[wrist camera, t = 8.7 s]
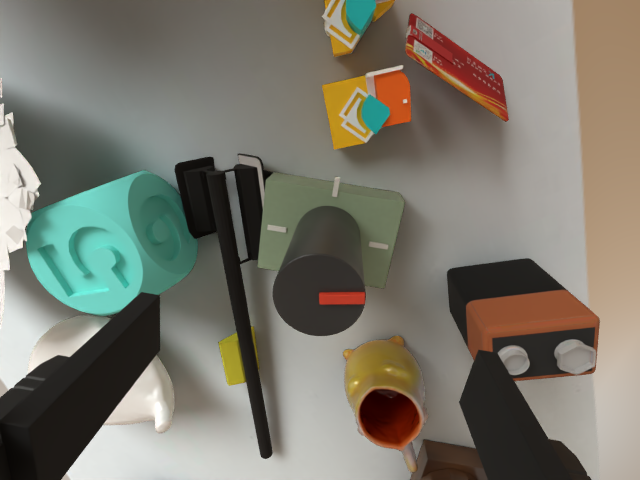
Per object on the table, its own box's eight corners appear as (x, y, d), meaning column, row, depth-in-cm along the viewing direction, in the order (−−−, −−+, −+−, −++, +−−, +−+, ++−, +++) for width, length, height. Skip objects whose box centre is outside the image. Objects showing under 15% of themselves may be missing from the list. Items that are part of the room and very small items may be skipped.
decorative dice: (82, 195, 31) (-2, 225, 23) (166, 162, 29) (103, 183, 22) (131, 277, 33) (68, 329, 26) (210, 251, 32) (168, 297, 24)
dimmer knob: (297, 266, 28) (275, 340, 20) (292, 206, 27) (266, 257, 18) (360, 265, 28) (366, 339, 19) (359, 204, 26) (365, 255, 18)
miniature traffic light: (283, 403, 44) (245, 146, 32) (314, 432, 40) (285, 152, 28) (232, 440, 40) (167, 161, 28) (262, 477, 36) (201, 171, 24)
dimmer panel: (264, 263, 32) (255, 280, 29) (274, 159, 29) (266, 165, 26) (378, 282, 32) (381, 301, 29) (402, 179, 29) (409, 188, 26)
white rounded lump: (152, 485, 31) (-29, 479, 25) (149, 405, 40) (17, 387, 34) (204, 374, 30) (33, 341, 25) (189, 318, 40) (62, 285, 34)
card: (407, 50, 21) (412, 9, 23) (402, 56, 21) (408, 15, 24) (511, 120, 23) (504, 75, 26) (505, 125, 23) (499, 80, 26)
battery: (530, 302, 31) (608, 387, 22) (448, 311, 32) (489, 397, 23) (531, 255, 30) (614, 325, 21) (445, 266, 31) (487, 338, 22)
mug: (334, 341, 34) (332, 394, 28) (408, 324, 33) (422, 376, 27) (368, 436, 38) (373, 502, 32) (436, 424, 37) (454, 490, 31)
